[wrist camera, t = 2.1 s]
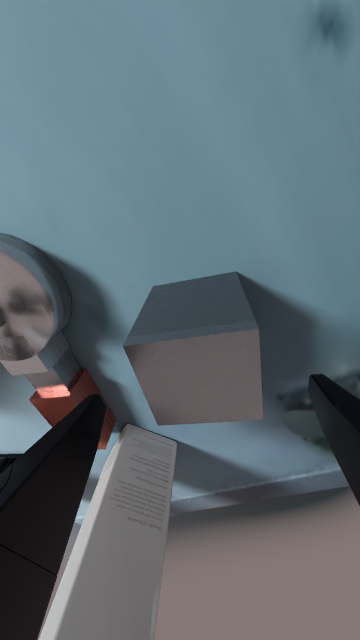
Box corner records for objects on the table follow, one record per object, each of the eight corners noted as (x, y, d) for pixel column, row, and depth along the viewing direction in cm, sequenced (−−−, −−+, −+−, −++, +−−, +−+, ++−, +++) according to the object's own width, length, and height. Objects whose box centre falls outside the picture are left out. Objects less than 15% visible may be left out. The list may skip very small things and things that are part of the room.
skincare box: (151, 471, 27) (104, 728, 14) (104, 456, 26) (9, 715, 13) (179, 438, 22) (150, 763, 10) (124, 418, 22) (13, 748, 9)
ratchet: (137, 422, 22) (117, 495, 16) (69, 426, 23) (32, 494, 18) (33, 219, 12) (-86, 241, 7) (-69, 246, 14) (-228, 281, 9)
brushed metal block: (242, 341, 15) (263, 419, 10) (172, 350, 16) (157, 425, 11) (236, 271, 13) (259, 328, 8) (152, 286, 14) (123, 346, 9)
